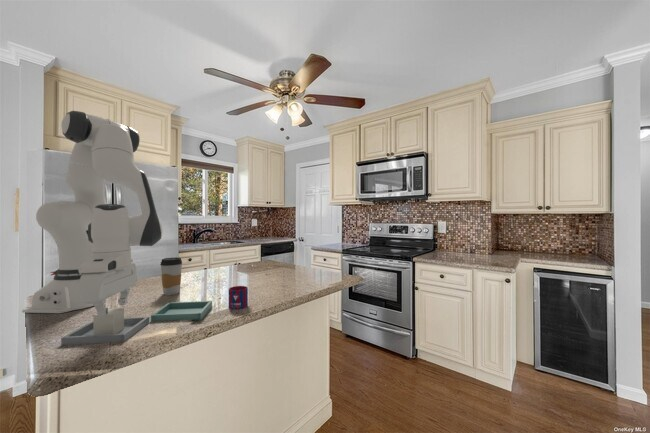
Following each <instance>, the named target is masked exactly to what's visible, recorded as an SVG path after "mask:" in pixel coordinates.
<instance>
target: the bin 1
mask: <svg viewBox="0 0 650 433" xmlns="http://www.w3.org/2000/svg"><path fill="white" fill-rule="evenodd" d="M148 324H150V316H137V317H135V316H134V317H124V329H123V330H122V331H120V332H119V333H117V334H105V335H94V328H93V320H92V321H90V322H88V323H87V324H84V325H83V326H80V327H79V328H77V329H75V330H73V331H72V332H70V333H68V334H66V335H64V336H62V337H61V340H60V343H61V344H60V345H61V346H70V345H71V346H72V345H87V344H89V345H90V344H105V343H106V344H107V343H125V342H126V341H127V340H129V339H130V338H131V337H133V336H134V335H136V334H137V333H138V332H140V330H142V329H143V328H145V327H146V326H147V325H148Z"/></svg>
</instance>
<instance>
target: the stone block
mask: <svg viewBox="0 0 650 433" xmlns="http://www.w3.org/2000/svg"><path fill="white" fill-rule="evenodd" d="M92 317H93V319H92V321H93V328H94V335H105V334H117V333H119V332H120V331H122V330H123V329H124V318H125V308H124V307H123V308H121V307H120V308H108V314H106V315H105V316H100V317H99V316H97V313H95V314H93V316H92Z"/></svg>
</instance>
